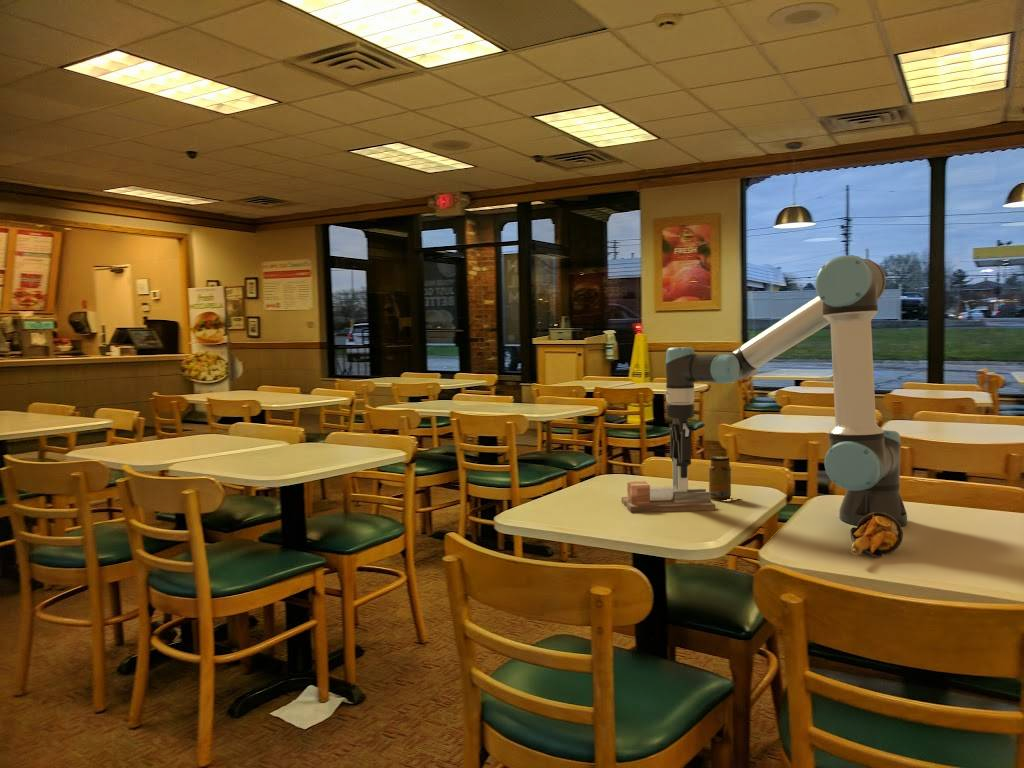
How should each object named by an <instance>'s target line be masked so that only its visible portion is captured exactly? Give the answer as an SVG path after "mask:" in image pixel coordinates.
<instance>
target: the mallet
mask: <svg viewBox="0 0 1024 768" xmlns="http://www.w3.org/2000/svg"><path fill="white" fill-rule="evenodd" d="M676 464H679V459H678V457H673V462H672V485H670V486H667V485H666V486H665V485H664V486H663V485H662V486H650V499H671V498H674V493H687V489H685V490H678V466H676Z"/></svg>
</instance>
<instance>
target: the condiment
mask: <svg viewBox="0 0 1024 768" xmlns="http://www.w3.org/2000/svg"><path fill="white" fill-rule="evenodd" d="M730 464H731V462H730V457H728V456H723V455H713V456H711V457H710V465H709V467H708V492H711V500H712V501H718V502H721V501H720V500H727V499H730V497H732V493H731V492H732V468H731V465H730ZM733 497H734V498H738V497H736V496H733ZM724 503H731V502H730V501H729V502H728V501H724Z"/></svg>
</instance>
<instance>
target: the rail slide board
mask: <svg viewBox="0 0 1024 768" xmlns="http://www.w3.org/2000/svg"><path fill="white" fill-rule="evenodd" d="M626 485H627V486H626V487H627V488H626V489H627V490H626V491H627V493H626V496H622V497H621V503H622V505H623V504H624V505H625V506H626V507H627V508H626V507H625V506H624V505H623V506H624V507H625V508H626V509H627V510H628V511H629V512H630V513H652V512H651V511H656V513H658V512H657V511H662V512H688V511H687V510H691V511H715V510H716V504H715V503H714V502H712V501H711V492H709V491H707V489H706V488H692V489H689V488H688V489H687V493H674V498H671V499H650V487H651V485H650V484H649V483H648V482H647V481H645V480H636V481H635V480H634V481H631V480H629V481H626ZM691 511H690V512H691Z"/></svg>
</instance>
